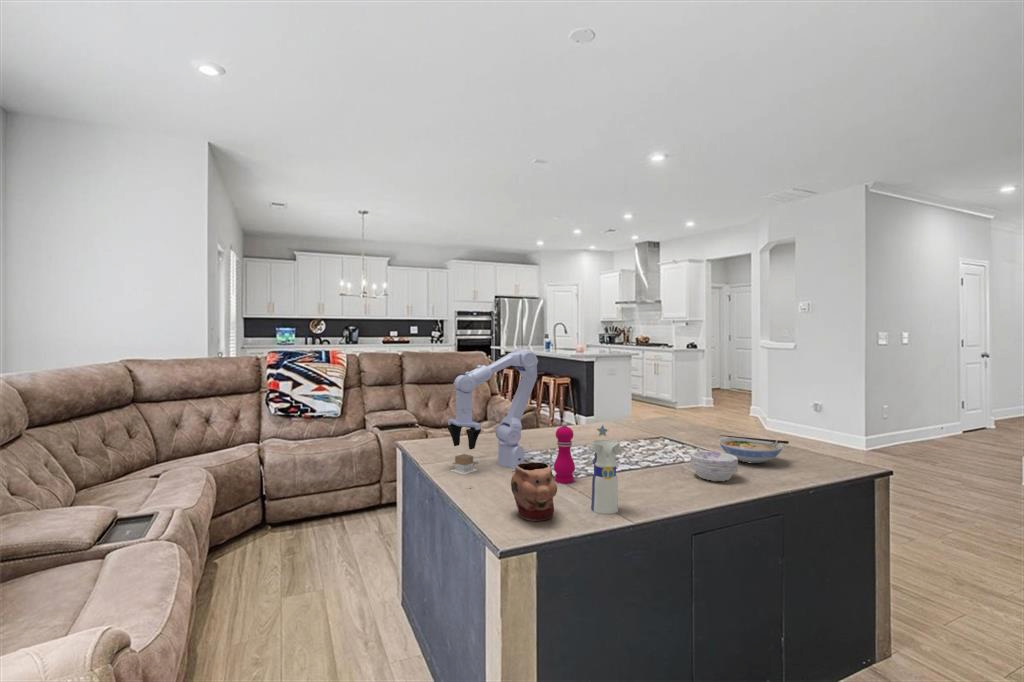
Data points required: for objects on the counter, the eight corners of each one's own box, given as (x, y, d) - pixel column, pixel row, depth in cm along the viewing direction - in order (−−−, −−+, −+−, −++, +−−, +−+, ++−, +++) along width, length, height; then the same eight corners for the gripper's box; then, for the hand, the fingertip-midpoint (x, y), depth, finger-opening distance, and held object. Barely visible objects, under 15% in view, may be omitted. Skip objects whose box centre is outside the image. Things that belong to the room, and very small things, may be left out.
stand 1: (479, 466, 188) (479, 462, 188) (465, 470, 182) (465, 466, 182) (465, 462, 192) (465, 459, 192) (452, 466, 187) (452, 463, 187)
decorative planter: (499, 504, 147) (499, 457, 146) (537, 499, 151) (537, 453, 151) (527, 530, 128) (527, 476, 128) (569, 523, 133) (569, 471, 132)
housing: (473, 469, 178) (473, 456, 178) (464, 472, 175) (464, 458, 175) (464, 467, 181) (464, 453, 181) (455, 470, 178) (455, 456, 177)
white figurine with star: (624, 514, 139) (625, 425, 139) (594, 515, 139) (595, 425, 138) (616, 503, 148) (616, 419, 147) (587, 504, 147) (588, 419, 146)
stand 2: (477, 473, 178) (477, 469, 178) (464, 477, 173) (464, 474, 173) (464, 469, 183) (464, 466, 183) (450, 473, 177) (450, 470, 177)
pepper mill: (576, 478, 172) (577, 420, 172) (572, 484, 165) (572, 424, 165) (556, 476, 175) (556, 419, 174) (551, 482, 168) (551, 423, 167)
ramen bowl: (709, 463, 193) (709, 442, 193) (722, 451, 212) (722, 431, 211) (782, 474, 178) (782, 451, 178) (789, 460, 197) (789, 439, 197)
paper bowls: (718, 470, 183) (718, 448, 183) (747, 483, 168) (747, 459, 168) (681, 473, 179) (681, 451, 179) (707, 486, 164) (708, 462, 164)
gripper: (441, 408, 179) (441, 446, 179) (471, 412, 170) (471, 452, 170) (455, 406, 184) (456, 442, 185) (485, 410, 175) (485, 448, 176)
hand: (464, 447), depth 178 cm, fingers open, 7 cm apart
